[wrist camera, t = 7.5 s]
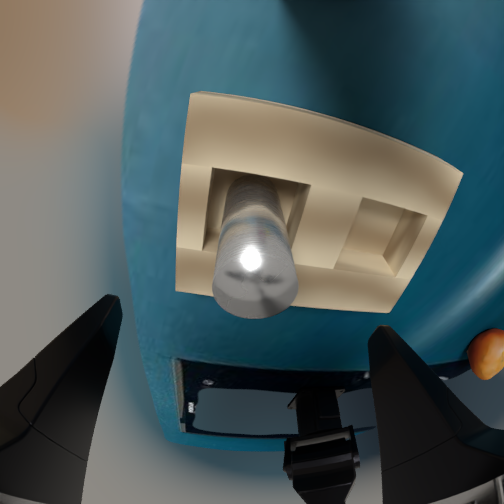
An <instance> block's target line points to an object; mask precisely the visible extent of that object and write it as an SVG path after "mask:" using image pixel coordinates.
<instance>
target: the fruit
mask: <svg viewBox="0 0 504 504" xmlns="http://www.w3.org/2000/svg"><path fill="white" fill-rule="evenodd" d="M466 352H467V355H468V359H469V362H470V365H471V369H472V371H473V372H474V373H475V374H476V375H477V376H478V377H479V378H480V379H483V380H487V379H490V378H492V377H493V376H494V375H495V374H497V373H498V372H499V371H500V370H501V369H502V368H503V367H504V331H503V330H500V329H497V328H493V329H489V330H487V331H485V332H483V333H481V334H479V335H477V336H476V337H475V338H474V339H473V341H472V342H471V344H470V346H469V348H468V350H467V351H466Z"/></svg>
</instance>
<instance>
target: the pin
mask: <svg viewBox="0 0 504 504" xmlns="http://www.w3.org/2000/svg"><path fill="white" fill-rule="evenodd" d="M298 288H299V285H298V279H297V274H296V269H295V265H294V260H293V255H292V251H291V246H290V242H289V238H288V233H287V229H286V224H285V220H284V216H283V212H282V207H281V203H280V199H279V195H278V191H277V189H276V187H275V185H274V184H273V183H272V182H271V181H270V180H269V179H267V178H265V177H263V176H260V175H254V174H252V175H245V176H242V177H240V178H238V179H236V180H235V181H234V182H233V183H232V184H231V185H230V187H229V188H228V191H227V194H226V200H225V206H224V212H223V218H222V224H221V230H220V236H219V243H218V249H217V256H216V262H215V269H214V276H213V283H212V292H213V296H214V298H215V300H216V301H217V303H218V304H219V305H220V306H221V307H222V308H223V309H224V310H226V311H227V312H229V313H231V314H233V315H236V316H239V317H243V318H249V319H259V318H266V317H270V316H274V315H276V314H278V313H280V312H282V311H284V310H285V309H286V308H288V307H289V306H290V305H291V304H292V303H293V301H294V300H295V298H296V296H297V293H298Z"/></svg>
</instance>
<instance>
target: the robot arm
mask: <svg viewBox="0 0 504 504" xmlns="http://www.w3.org/2000/svg"><path fill="white" fill-rule="evenodd" d="M121 322H122V309H121V304H120V299H119V297H118V296H116V295H111V294H107V295H105V296H104V297H102V298H101V299H100V300H99V301H98V302H97V303H95V304H94V305H93V306H92V307H90V308H89V309H88V310H87V311H86V312H85V313H83V314H82V315H81V316H80V317H79V318H77V319H76V320H75V321H74V322H73V323H72V324H71V325H69V326H68V327H67V328H66V329H65V330H64V331H63V332H61V333H60V334H59V335H58V336H57V337H56V338H55V339H54V340H52V341H51V342H50V343H49V344H48V345H47V346H46V347H45V348H44V349H43V350H41V352H39V353H38V354H37V355H36V356H35V358H33V359H32V360H31V361H30V362H29V363H28V364H26V366H24V367H23V368H22V369H21V370H20V371H19V372H18V373H17V374H15V375H14V376H13V377H12V378H10V379H9V380H8V381H7V382H6V383H4V384H3V385H2V386H1V387H0V504H81V501H82V493H83V486H84V479H85V473H86V467H87V461H88V456H89V450H90V446H91V441H92V437H93V432H94V428H95V424H96V420H97V416H98V412H99V408H100V404H101V400H102V397H103V393H104V390H105V386H106V383H107V379H108V376H109V372H110V369H111V366H112V363H113V359H114V355H115V350H116V345H117V340H118V335H119V330H120V326H121ZM368 353H369V365H370V378H371V386H372V392H373V398H374V405H375V412H376V420H377V428H378V436H379V447H380V458H381V471H382V473H381V474H382V493H383V504H504V430H499V429H494V428H490V427H488V426H487V425H485V424H484V423H483V422H482V421H481V420H480V419H479V418H478V417H477V416H475V415H474V414H473V413H472V412H471V411H470V410H469V409H468V408H467V407H466V406H465V405H464V404H463V403H462V402H461V401H460V400H459V399H458V398H457V397H456V396H455V395H454V393H453V392H452V391H451V390H450V389H449V388H448V387H447V386H446V385H445V383H444V382H443V381H442V380H441V379H440V378H439V377H438V376H437V375H436V374H435V373H434V372H433V370H432V369H431V368H430V367H429V366H428V365H427V364H426V363H425V362H424V361H423V360H422V359H421V358H420V357H419V356H418V355H417V354H416V352H415V351H414V350H413V349H412V348H411V347H410V346H409V345H408V344H407V343H406V342H405V341H404V340H403V339H402V338H401V337H400V336H399V335H398V334H397V333H396V332H395V331H394V330H393V329H392V328H391V327H390V326H388V325H379V326H378V327H377V328H376V330H375V331H374V332H373V334H372V335H371V336H370V338H369V340H368ZM344 391H345V388H344V387H334V388H302V389H300V390H299V391H298V393H297V394H296V395H295V397H294V398H293V399H292V401H291V402H290V403H289V404H288V409H296V414H297V423H298V432H299V437H294V438H291V437H290V438H287V441H284V447H285V455H284V463H283V471H284V472H286V473H287V475H288V478H289V480H293V488H294V489H295V490H296V492H297V493H298V494H299V495H300V496H301V498H302V499H303V500H304V501H305V502H306V504H345V502H346V500H347V498H348V496H349V494H350V492H351V490H352V488H353V486H354V484H355V479H356V472H355V469H356V468H360V461H359V454H358V449H357V444H356V439H355V435H354V430H353V426H352V425H350V426H348V427H344V428H342V425H341V419H340V412H339V407H338V401H337V398H338V397H339V396H340V395H341V394H342V393H343V392H344ZM346 438H349V440H347V441H346V440H345V439H346Z"/></svg>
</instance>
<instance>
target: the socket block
mask: <svg viewBox="0 0 504 504" xmlns="http://www.w3.org/2000/svg"><path fill="white" fill-rule="evenodd" d="M252 174H254V175H260V176H263V177H265V178H267V179H269V180H270V181H271V182H272V183H273V184H274V185H275V187H276V189H277V191H278V195H279V199H280V203H281V207H282V212H283V216H284V220H285V224H286V229H287V233H288V238H289V242H290V246H291V251H292V255H293V260H294V265H295V269H296V274H297V279H298V285H299V288H298V293H297V296H296V298H295V300H294V301H293V303H292V304H291V306H301V307H312V308H323V309H336V310H349V311H364V312H380V313H389V312H390V311H391V309H392V308H393V306H394V305H395V303H396V302H397V300H398V299H399V297H400V296H401V294H402V293H403V291H404V290H405V288H406V286H407V285H408V283H409V281H410V280H411V278H412V277H413V275H414V273H415V271H416V270H417V268H418V266H419V265H420V263H421V261H422V259H423V258H424V256H425V254H426V252H427V250H428V248H429V247H430V245H431V243H432V241H433V239H434V237H435V235H436V233H437V231H438V229H439V227H440V225H441V223H442V221H443V219H444V217H445V215H446V213H447V210H448V208H449V206H450V204H451V202H452V199H453V197H454V195H455V192H456V190H457V188H458V185H459V183H460V180H461V178H462V175H463V173H462V172H461V171H459V170H458V169H456V168H455V167H453V166H451V165H450V164H448V163H447V162H445V161H443V160H442V159H440V158H438V157H436V156H434V155H432V154H430V153H428V152H426V151H424V150H421V149H419V148H417V147H415V146H412V145H410V144H408V143H405V142H403V141H401V140H398V139H396V138H393V137H391V136H388V135H385V134H383V133H380V132H377V131H375V130H372V129H369V128H366V127H363V126H360V125H358V124H354V123H351V122H348V121H345V120H342V119H339V118H335V117H332V116H328V115H325V114H321V113H318V112H314V111H310V110H306V109H302V108H298V107H294V106H290V105H285V104H281V103H276V102H271V101H266V100H260V99H255V98H249V97H243V96H237V95H230V94H222V93H214V92H205V91H199V92H195V93H191V94H190V101H189V108H188V115H187V122H186V130H185V139H184V148H183V157H182V168H181V179H180V192H179V206H178V223H177V246H176V291H180V292H187V293H194V294H201V295H208V296H213V292H212V283H213V276H214V269H215V262H216V256H217V249H218V243H219V236H220V230H221V224H222V218H223V212H224V206H225V200H226V194H227V191H228V188H229V187H230V185H231V184H232V183H233V182H234V181H235V180H236V179H238V178H240V177H242V176H245V175H252Z"/></svg>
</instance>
